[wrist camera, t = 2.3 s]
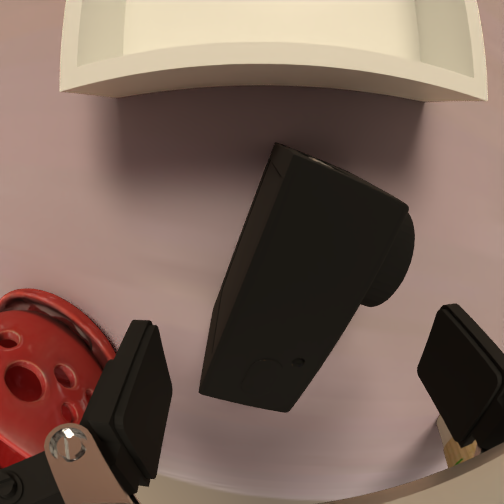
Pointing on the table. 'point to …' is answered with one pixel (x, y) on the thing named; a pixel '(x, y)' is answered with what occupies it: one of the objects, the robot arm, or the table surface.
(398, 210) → the digital camera
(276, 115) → the table surface
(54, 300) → the plant pot
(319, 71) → the box
